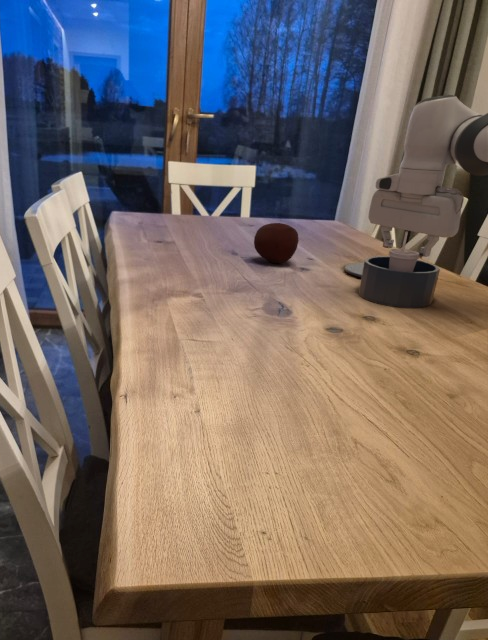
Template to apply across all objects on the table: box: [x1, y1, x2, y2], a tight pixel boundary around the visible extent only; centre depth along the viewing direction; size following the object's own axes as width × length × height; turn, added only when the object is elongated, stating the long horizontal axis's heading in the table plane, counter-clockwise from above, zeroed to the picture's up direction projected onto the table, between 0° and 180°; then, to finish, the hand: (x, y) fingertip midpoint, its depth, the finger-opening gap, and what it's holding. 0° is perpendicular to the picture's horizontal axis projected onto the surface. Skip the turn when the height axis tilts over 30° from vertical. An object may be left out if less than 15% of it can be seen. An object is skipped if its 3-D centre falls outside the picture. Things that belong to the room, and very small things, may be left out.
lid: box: [344, 255, 377, 278], centre depth 147 cm, size 17×17×5 cm
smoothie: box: [388, 230, 420, 272], centre depth 126 cm, size 6×6×14 cm
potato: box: [253, 222, 300, 264], centre depth 153 cm, size 11×13×10 cm
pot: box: [358, 255, 441, 309], centre depth 127 cm, size 16×16×8 cm
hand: (405, 251), depth 124 cm, fingers open, 8 cm apart
